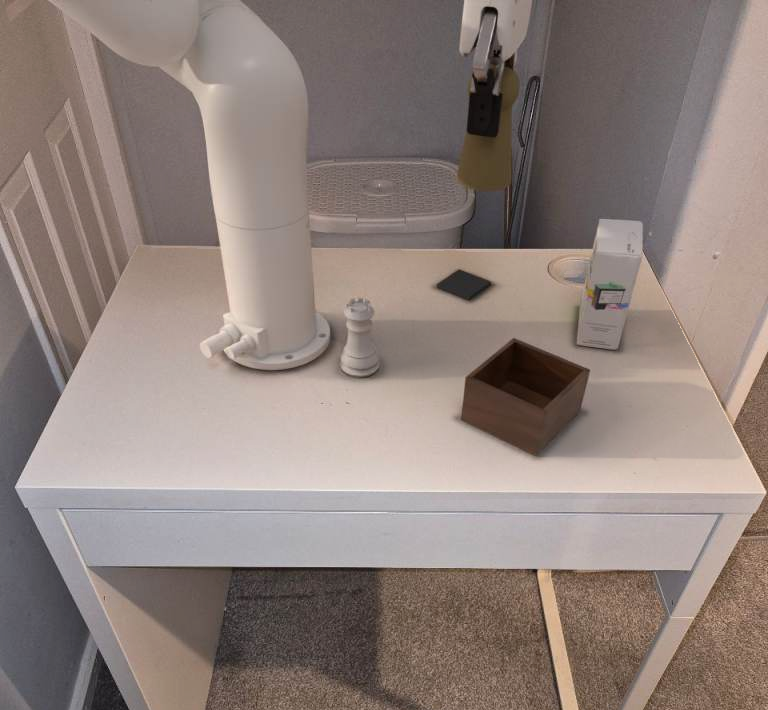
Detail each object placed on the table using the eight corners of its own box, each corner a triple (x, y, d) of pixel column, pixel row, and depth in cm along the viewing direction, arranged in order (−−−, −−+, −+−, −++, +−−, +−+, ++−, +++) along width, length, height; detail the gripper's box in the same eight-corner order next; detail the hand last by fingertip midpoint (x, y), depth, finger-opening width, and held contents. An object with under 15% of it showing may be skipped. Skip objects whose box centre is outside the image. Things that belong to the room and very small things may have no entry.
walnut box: (536, 456, 75) (544, 413, 71) (460, 419, 79) (465, 377, 75) (580, 412, 80) (590, 369, 76) (507, 379, 84) (513, 337, 80)
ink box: (578, 307, 94) (598, 214, 86) (619, 312, 93) (643, 219, 85) (574, 345, 88) (596, 250, 80) (618, 351, 88) (644, 255, 79)
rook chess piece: (385, 360, 86) (385, 296, 80) (372, 382, 83) (372, 318, 77) (347, 352, 87) (345, 289, 81) (334, 374, 84) (331, 310, 78)
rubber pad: (468, 300, 95) (469, 297, 95) (436, 287, 97) (436, 284, 97) (490, 284, 98) (491, 281, 97) (458, 272, 100) (459, 269, 99)
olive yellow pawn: (513, 192, 81) (529, 78, 73) (457, 190, 81) (466, 77, 74) (509, 169, 86) (523, 59, 78) (455, 167, 86) (464, 58, 78)
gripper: (493, -112, 73) (474, 94, 86) (444, -83, 62) (431, 149, 75) (571, -107, 71) (540, 103, 84) (535, -76, 60) (506, 160, 73)
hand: (489, 122), depth 79 cm, fingers closed on olive yellow pawn, 5 cm apart
